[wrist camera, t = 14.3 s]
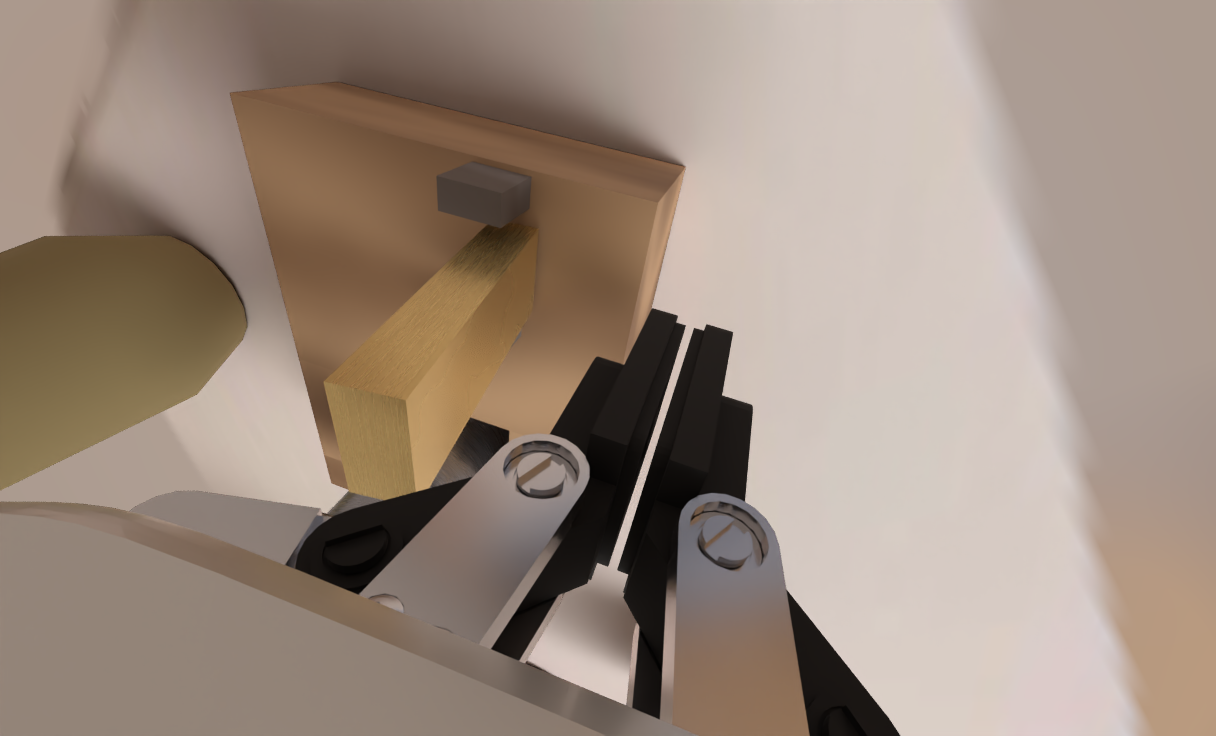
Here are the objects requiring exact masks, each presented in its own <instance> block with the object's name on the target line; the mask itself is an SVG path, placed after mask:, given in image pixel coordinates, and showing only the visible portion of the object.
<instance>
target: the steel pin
mask: <svg viewBox="0 0 1216 736" xmlns="http://www.w3.org/2000/svg"><path fill="white" fill-rule="evenodd" d="M508 442H509V430H506V429H503V428H500V427H497V426H494V425H491V424H488V423H485V422H483V421H480V420H477V419H474V418H471V417H470V419H469V420H468V422H467V424H466V426H465V427H464V429H463V431H462V432H461V434H460V436H459V438H458V439H457V441H456V443H455V444H454V446H453V448H452V450H451V451H450V453H449V455H448V457H447V458H446V460H445V462H444V463H443V465H442V467H441V469H440V470H439V472H438V474H437V475H436V477H435V479H434V481H433V482H432V484H431V486H430V488H432V487H436V486H439V485H443V484H447V483H451V482H454V481H458V480H462V479H465V478H469V477H473V476H474V475H475V474H476V473H477V472H478V471H479V470H480V469H481V468H482V467H483V466H484V465H485V464H486V463H487V462H488V461H489V460H490V459H491V458H492V457H493V456H494V455H495V454H496V453H497V452H498V451H499V450H500V449H501V448H502V447H503V446H504V445H506V444H507V443H508ZM380 501H383V500H381V499H377V498H373V497H368V496H364V495H360V494H356V493H351V492H349V491H348V492H347V493H346V494H345V495H344V497H343V498H342V499H341V500H340V501H339V502H338V503H337V504H336V505H335V506H334V507H333V508H332V509H331V510H330V511H329V512H328V513H327V514H325V513H322V516H328V517H333V516H335V515H337V514H340V513H342V512H345V511H348V510H350V509H353V508H357V507H361V506H365V505H368V504H372V503H376V502H380Z"/></svg>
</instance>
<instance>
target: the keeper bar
mask: <svg viewBox="0 0 1216 736" xmlns="http://www.w3.org/2000/svg"><path fill="white" fill-rule="evenodd" d="M538 234H539V229H538V228H533V227H529V226H524V225H519V224H515V223H510V222H509V223H508V224H506V225H505V226H503V227H502V228H498V227H495V226H491V225H486V226H485V227H484V228H483V229H482V230H481V231H480V232H479V233H478V234H477V235H476V236H475V237H474V238H473V239H472V240H470V241H469V242H468V243H467V244H466V245H465V246H464V247H463V248H462V249H461V250H460V251H459V252H458V253H457V254H456V255H455V256H454V257H453V258H452V259H451V260H450V261H449V262H448V263H446V264H445V265H444V266H443V267H442V268H441V269H440V270H439V271H438V272H437V273H436V274H435V275H434V276H433V277H432V278H431V279H430V280H429V281H428V282H427V283H426V284H425V285H423V286H422V287H421V288H420V289H419V290H418V291H417V292H416V293H415V294H414V295H413V296H412V297H411V298H410V299H409V300H408V301H407V302H406V303H405V304H404V305H403V306H402V307H400V308H399V309H398V310H397V311H396V312H395V313H394V314H393V315H392V316H391V317H390V318H389V319H388V320H387V321H386V322H385V323H384V324H383V325H382V326H381V327H380V328H379V329H377V330H376V331H375V332H374V333H373V334H372V335H371V336H370V337H369V338H368V339H367V340H366V341H365V342H364V343H363V344H362V345H361V346H360V347H359V348H358V349H357V350H356V351H355V352H353V353H352V354H351V355H350V356H349V357H348V358H347V359H346V360H345V361H344V362H343V363H342V364H341V365H340V366H339V367H338V368H337V369H336V370H335V371H334V372H333V373H332V374H330V375H329V376H328V377H327V378H326V379H325V380H324V381H323V382H324V387H325V391H326V395H327V400H328V404H329V408H330V412H331V417H332V421H333V425H334V430H335V434H336V438H337V443H338V447H339V451H340V455H341V460H342V464H343V468H344V473H345V477H346V481H347V485H348V490H349V492H351V493H356V494H360V495H364V496H368V497H373V498H377V499H381V500H387V499H391V498H395V497H398V496H402V495H406V494H409V493H413V492H417V491H421V490H424V489H428V488H430V486H431V484H432V482H433V481H434V479H435V477H436V475H437V474H438V472H439V470H440V469H441V467H442V465H443V463H444V462H445V460H446V458H447V457H448V455H449V453H450V451H451V450H452V448H453V446H454V444H455V443H456V441H457V439H458V438H459V436H460V434H461V432H462V431H463V429H464V427H465V426H466V424H467V422H468V420H469V419H470V417H471V415H472V413H473V412H474V410H475V408H476V407H477V405H478V403H479V401H480V400H481V398H482V396H483V395H484V393H485V391H486V389H487V388H488V386H489V384H490V382H491V381H492V379H493V377H494V376H495V374H496V372H497V370H498V369H499V367H500V365H501V363H502V362H503V360H504V358H505V357H506V355H507V353H508V351H509V350H510V348H511V346H512V345H513V343H514V341H515V339H516V338H517V336H518V334H519V332H520V331H521V329H522V327H523V326H524V324H525V322H526V320H527V319H528V317H529V315H530V314H531V312H532V309H533V297H534V284H535V271H536V259H537V246H538Z"/></svg>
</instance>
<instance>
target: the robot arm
mask: <svg viewBox="0 0 1216 736" xmlns="http://www.w3.org/2000/svg"><path fill="white" fill-rule="evenodd" d="M677 318H678V316H677V315H674V314H670V313H667V312H664V311H660V310H657V309H653V308H652V309H651V311H650V313H649V315H648V317H647V319H646V321H645V323H644V325H643V327H642V329H641V332H640V334H639V336H638V338H637V340H636V342H635V344H634V346H633V348H632V350H631V352H630V354H629V356H628V358H627V360H626V362H625V364H621V363H618V362H614V361H611V360H608V359H605V358H602V357H599V356H597V357H596V358H595V359H594V360H593V362H592V364H591V365H590V367H589V369H588V370H587V372H586V374H585V375H584V377H583V379H582V380H581V382H580V384H579V385H578V387H577V389H576V391H575V392H574V394H573V396H572V397H571V399H570V401H569V402H568V404H567V406H566V407H565V409H564V411H563V412H562V414H561V416H560V417H559V419H558V421H557V422H556V424H555V426H554V428H553V429H552V431H551V433H550V434H540V433H537V434H529V435H523V436H521V437H518V438H516V439H513V440H511V441H510V442H508V443H507V444H506V445H504V446H503V447H502V448H501V449H500V450H499V451H498V452H497V453H496V454H495V455H494V456H493V457H492V458H491V459H490V460H489V461H488V462H487V463H486V464H485V465H484V466H483V467H482V468H481V469H480V470H479V471H478V472H477V473H476V474H475V475H474V476H473V477H469V478H465V479H462V480H458V481H454V482H451V483H447V484H443V485H439V486H436V487H432V488H428V489H424V490H421V491H417V492H413V493H409V494H406V495H402V496H398V497H395V498H391V499H387V500H383V501H380V502H376V503H372V504H368V505H365V506H361V507H357V508H353V509H350V510H348V511H345V512H342V513H340V514H337V515H335V516H333V517H328V516H322V512H321V509H319V508H313V507H306V506H299V505H292V504H285V503H278V502H271V501H264V500H257V499H250V498H243V497H236V496H229V495H222V494H215V493H208V492H201V491H176V492H172V493H168V494H164V495H160V496H156V497H154V498H152V499H150V500H148V501H146V502H144V503H142V504H139V505H137V506H135V507H134V508H133V509H131V510H130V511H125V510H120V509H116V508H110V507H103V506H95V505H88V504H78V503H61V502H60V503H59V502H0V736H900V735H899V733H898V731H897V730H896V728H895V727H894V725H893V724H892V722H891V721H890V719H889V718H888V717H887V715H886V714H885V713H884V712H883V710H882V709H881V708H880V707H879V705H878V704H877V703H876V702H875V700H874V699H873V698H872V696H871V695H870V694H869V693H868V691H867V690H866V689H865V688H864V686H863V685H862V684H861V683H860V681H859V680H858V679H857V678H856V676H855V675H854V674H853V673H852V671H851V670H850V669H849V668H848V666H847V665H846V664H845V662H844V661H843V660H842V659H841V657H840V656H839V655H838V654H837V652H836V651H835V650H834V649H833V647H832V646H831V645H830V644H829V642H828V641H827V640H826V639H825V637H824V636H823V635H822V634H821V632H820V631H819V630H818V629H817V627H816V626H815V625H814V623H813V622H812V621H811V620H810V618H809V617H808V616H807V615H806V613H805V612H804V611H803V610H802V608H801V607H800V606H799V605H798V603H797V602H796V601H795V600H794V598H793V597H792V596H791V595H790V593H789V592H788V591H787V590H786V585H785V578H784V572H783V566H782V560H781V553H780V547H779V543H778V540H777V537H776V534H775V532H774V530H773V529H772V527H771V525H770V524H769V522H768V521H767V519H766V518H765V517H764V516H763V515H761V514H760V513H759V512H758V511H757V510H756V509H755V508H754V507H752V506H751V505H749V504H747V503H746V502H745V494H746V483H747V471H748V460H749V449H750V437H751V426H752V414H753V406H752V405H751V404H747V403H744V402H741V401H738V400H735V399H732V398H728V397H725V396H722V392H723V386H724V381H725V375H726V370H727V364H728V358H729V353H730V347H731V341H732V336H733V332H731V331H728V330H724V329H721V328H717V327H714V326H711V325H706V327H705V330H704V331H703V330H699V329H696V328H694V330H693V333H692V336H691V340H690V343H689V346H688V349H687V352H686V355H685V358H684V361H683V365H682V368H681V371H680V374H679V377H678V380H677V383H676V386H675V390H674V393H673V396H672V399H671V402H670V405H669V408H668V411H667V415H666V418H665V421H664V424H663V427H662V430H661V433H660V436H659V440H658V443H657V446H656V449H655V452H654V455H653V459H652V462H651V465H650V468H649V471H648V474H647V478H646V481H645V484H644V487H643V490H642V493H641V497H640V500H639V503H638V506H637V509H636V513H635V516H634V519H633V522H632V525H631V528H630V532H629V535H628V538H627V541H626V544H625V547H624V551H623V554H622V557H621V560H620V563H619V566H618V571H621V572H623V573H626V574H628V578H627V581H626V584H625V588H624V591H623V593H624V597H623V598H624V599H625V601H626V603H627V605H628V607H629V609H630V611H631V612H632V614H633V616H634V618H635V620H636V625H635V629H634V634H633V643H632V653H631V663H630V673H629V683H628V693H627V703H626V705H623V704H621V703H619V702H616V701H614V700H611V699H609V698H607V697H604V696H602V695H599V694H597V693H595V692H592V691H590V690H587V689H585V688H583V687H580V686H578V685H575V684H573V683H571V682H568V681H566V680H563V679H561V678H559V677H556V676H554V675H551V674H549V673H547V672H544V671H542V670H539V669H537V668H535V667H532V666H530V665H527V664H525V663H526V661H527V659H528V658H529V656H530V654H531V653H532V651H533V649H534V647H535V646H536V644H537V642H538V641H539V639H540V637H541V636H542V634H543V632H544V630H545V629H546V627H547V625H548V624H549V622H550V620H551V618H552V617H553V615H554V613H555V612H556V610H557V608H558V607H559V605H560V603H561V600H562V598H563V595H564V593H565V592H568V591H570V590H572V589H575V588H577V587H580V586H582V585H585V584H587V582H588V580H591V578H592V576H593V573H594V570H595V567H596V565H597V563H599V564H602V565H605V566H607V567H608V565H609V562H610V559H611V556H612V553H613V550H614V547H615V545H616V542H617V539H618V536H619V533H620V530H621V527H622V524H623V521H624V518H625V515H626V512H627V509H628V506H629V503H630V500H631V497H632V494H633V491H634V488H635V485H636V482H637V479H638V476H639V473H640V470H641V467H642V464H643V461H644V458H645V455H646V452H647V449H648V446H649V443H650V440H651V437H652V434H653V431H654V428H655V425H656V421H657V418H658V415H659V412H660V408H661V405H662V402H663V399H664V395H665V392H666V389H667V386H668V382H669V379H670V376H671V373H672V369H673V366H674V363H675V360H676V356H677V353H678V350H679V347H680V343H681V340H682V337H683V334H684V330H685V327H686V325H682V324H679V323H676V321H677Z"/></svg>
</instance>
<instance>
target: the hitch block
mask: <svg viewBox="0 0 1216 736" xmlns="http://www.w3.org/2000/svg"><path fill="white" fill-rule="evenodd" d="M230 96H231V100H232V104H233V108H234V111H235V115H236V119H237V123H238V127H239V131H240V134H241V138H242V142H243V146H244V150H245V154H246V157H247V161H248V165H249V169H250V173H251V177H252V180H253V184H254V188H255V192H256V196H257V200H258V203H259V207H260V211H261V215H262V219H263V223H264V226H265V230H266V234H267V238H268V242H269V246H270V249H271V253H272V257H273V261H274V265H275V269H276V272H277V276H278V280H279V284H280V288H281V291H282V295H283V299H284V303H285V307H286V311H287V314H288V318H289V322H290V326H291V330H292V334H293V337H294V341H295V345H296V349H297V353H298V357H299V360H300V364H301V368H302V372H303V376H304V380H305V383H306V387H307V391H308V395H309V399H310V403H311V406H312V410H313V414H314V418H315V422H316V426H317V429H318V433H319V437H320V441H321V445H322V449H323V452H324V456H325V460H326V464H327V468H328V472H329V475H330V479H331V483H332V484H335V485H337V486H340V487H343V488H345V489H348V485H347V481H346V477H345V473H344V468H343V464H342V460H341V455H340V451H339V447H338V443H337V438H336V434H335V430H334V425H333V421H332V417H331V412H330V408H329V404H328V400H327V395H326V391H325V387H324V382H323V381H324V380H325V379H326V378H327V377H328V376H329V375H330V374H332V373H333V372H334V371H335V370H336V369H337V368H338V367H339V366H340V365H341V364H342V363H343V362H344V361H345V360H346V359H347V358H348V357H349V356H350V355H351V354H352V353H353V352H355V351H356V350H357V349H358V348H359V347H360V346H361V345H362V344H363V343H364V342H365V341H366V340H367V339H368V338H369V337H370V336H371V335H372V334H373V333H374V332H375V331H376V330H377V329H379V328H380V327H381V326H382V325H383V324H384V323H385V322H386V321H387V320H388V319H389V318H390V317H391V316H392V315H393V314H394V313H395V312H396V311H397V310H398V309H399V308H400V307H402V306H403V305H404V304H405V303H406V302H407V301H408V300H409V299H410V298H411V297H412V296H413V295H414V294H415V293H416V292H417V291H418V290H419V289H420V288H421V287H422V286H423V285H425V284H426V283H427V282H428V281H429V280H430V279H431V278H432V277H433V276H434V275H435V274H436V273H437V272H438V271H439V270H440V269H441V268H442V267H443V266H444V265H445V264H446V263H448V262H449V261H450V260H451V259H452V258H453V257H454V256H455V255H456V254H457V253H458V252H459V251H460V250H461V249H462V248H463V247H464V246H465V245H466V244H467V243H468V242H469V241H470V240H472V239H473V238H474V237H475V236H476V235H477V234H478V233H479V232H480V231H481V230H482V229H483V228H484V227H485V226H486V225H491V226H495V227H498V228H502V227H503V226H505V225H506V224H508V223H509V222H510V223H515V224H519V225H524V226H529V227H533V228H538V229H539V234H538V246H537V259H536V271H535V284H534V297H533V309H532V312H531V314H530V315H529V317H528V319H527V320H526V322H525V324H524V326H523V327H522V329H521V331H520V332H519V334H518V336H517V338H516V339H515V341H514V343H513V345H512V346H511V348H510V350H509V351H508V353H507V355H506V357H505V358H504V360H503V362H502V363H501V365H500V367H499V369H498V370H497V372H496V374H495V376H494V377H493V379H492V381H491V382H490V384H489V386H488V388H487V389H486V391H485V393H484V395H483V396H482V398H481V400H480V401H479V403H478V405H477V407H476V408H475V410H474V412H473V413H472V415H471V418H474V419H477V420H480V421H483V422H485V423H488V424H491V425H494V426H497V427H500V428H503V429H506V430H509V442H510V441H511V440H513V439H516V438H518V437H521V436H523V435H529V434H537V433H540V434H550V433H551V431H552V429H553V428H554V426H555V424H556V422H557V421H558V419H559V417H560V416H561V414H562V412H563V411H564V409H565V407H566V406H567V404H568V402H569V401H570V399H571V397H572V396H573V394H574V392H575V391H576V389H577V387H578V385H579V384H580V382H581V380H582V379H583V377H584V375H585V374H586V372H587V370H588V369H589V367H590V365H591V364H592V362H593V360H594V359H595V358H596V357H597V356H599V357H602V358H605V359H608V360H611V361H614V362H618V363H621V364H625V362H626V360H627V358H628V356H629V354H630V352H631V350H632V348H633V346H634V344H635V342H636V340H637V338H638V336H639V334H640V332H641V329H642V327H643V325H644V323H645V321H646V319H647V317H648V315H649V313H650V311H651V308H652V304H653V300H654V296H655V291H656V287H657V283H658V279H659V275H660V271H661V267H662V263H663V259H664V254H665V250H666V246H667V242H668V238H669V234H670V230H671V226H672V221H673V217H674V213H675V209H676V205H677V201H678V197H679V193H680V189H681V184H682V180H683V176H684V172H685V168H686V167H684V166H679V165H675V164H671V163H667V162H663V161H659V160H655V159H651V158H647V157H643V156H638V155H634V154H630V153H626V152H622V151H618V150H614V149H610V148H606V147H602V146H597V145H593V144H589V143H585V142H581V141H577V140H573V139H569V138H565V137H561V136H557V135H552V134H548V133H544V132H540V131H536V130H532V129H528V128H524V127H520V126H516V125H511V124H507V123H503V122H499V121H495V120H491V119H487V118H483V117H479V116H475V115H470V114H466V113H462V112H458V111H454V110H450V109H446V108H442V107H438V106H434V105H430V104H425V103H421V102H417V101H413V100H409V99H405V98H401V97H397V96H393V95H389V94H384V93H380V92H376V91H372V90H368V89H364V88H360V87H356V86H352V85H348V84H344V83H339V82H332V83H322V84H312V85H302V86H292V87H282V88H272V89H262V90H252V91H242V92H232V93H230Z"/></svg>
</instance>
